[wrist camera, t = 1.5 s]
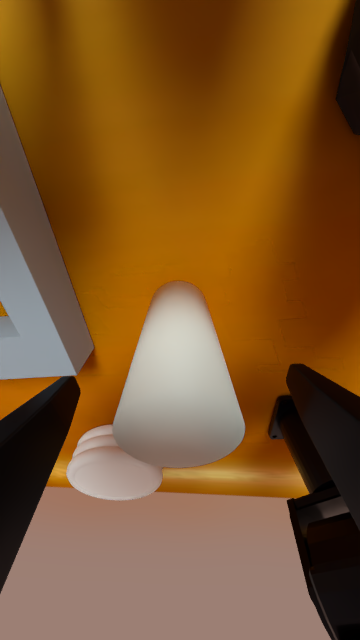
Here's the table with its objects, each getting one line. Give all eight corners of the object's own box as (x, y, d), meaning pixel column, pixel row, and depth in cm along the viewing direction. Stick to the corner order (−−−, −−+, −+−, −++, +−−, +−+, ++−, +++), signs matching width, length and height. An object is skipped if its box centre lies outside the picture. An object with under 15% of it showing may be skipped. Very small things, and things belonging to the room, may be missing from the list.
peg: (206, 329, 15) (239, 465, 7) (154, 333, 15) (127, 470, 7) (206, 278, 13) (252, 385, 5) (146, 283, 13) (95, 393, 5)
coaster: (170, 464, 25) (168, 499, 22) (96, 469, 26) (85, 505, 22) (156, 417, 20) (152, 454, 17) (65, 425, 21) (46, 462, 18)
